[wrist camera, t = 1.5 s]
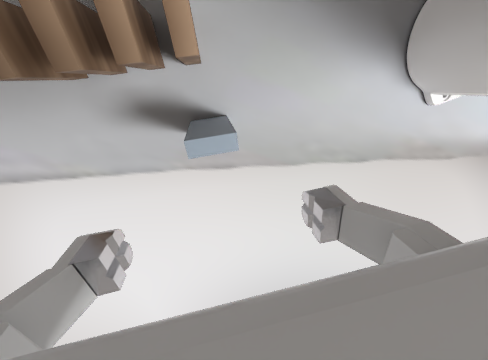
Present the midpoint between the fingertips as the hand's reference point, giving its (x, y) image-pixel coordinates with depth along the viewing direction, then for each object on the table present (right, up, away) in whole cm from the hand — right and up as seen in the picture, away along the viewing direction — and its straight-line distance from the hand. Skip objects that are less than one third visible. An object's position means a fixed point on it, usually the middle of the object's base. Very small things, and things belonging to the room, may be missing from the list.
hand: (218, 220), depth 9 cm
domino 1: (-18, +16, +13) cm, 27 cm away
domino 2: (-14, +17, +13) cm, 25 cm away
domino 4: (-5, +18, +14) cm, 24 cm away
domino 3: (-10, +17, +14) cm, 24 cm away
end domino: (-4, +10, +19) cm, 21 cm away
